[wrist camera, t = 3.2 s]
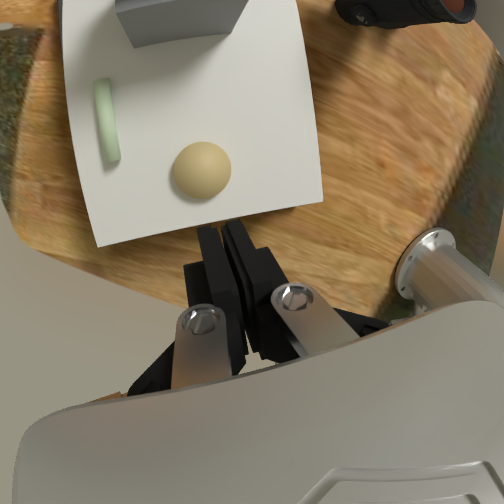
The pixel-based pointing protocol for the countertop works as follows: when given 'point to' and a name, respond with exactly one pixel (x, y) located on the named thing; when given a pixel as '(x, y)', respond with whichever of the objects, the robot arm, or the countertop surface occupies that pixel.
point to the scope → (405, 12)
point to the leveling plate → (188, 112)
